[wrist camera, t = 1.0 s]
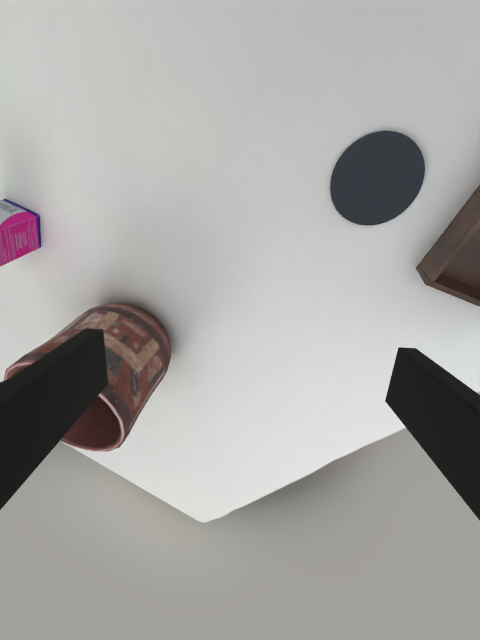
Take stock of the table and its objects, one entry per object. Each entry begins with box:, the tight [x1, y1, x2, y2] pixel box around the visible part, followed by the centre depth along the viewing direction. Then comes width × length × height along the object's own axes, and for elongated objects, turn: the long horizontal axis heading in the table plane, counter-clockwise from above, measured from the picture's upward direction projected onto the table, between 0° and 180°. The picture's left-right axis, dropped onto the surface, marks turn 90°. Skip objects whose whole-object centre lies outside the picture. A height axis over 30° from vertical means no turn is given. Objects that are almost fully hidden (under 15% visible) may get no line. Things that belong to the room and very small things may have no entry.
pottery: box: [4, 303, 171, 451], centre depth 46 cm, size 18×18×18 cm
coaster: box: [330, 131, 425, 225], centre depth 31 cm, size 9×9×1 cm
